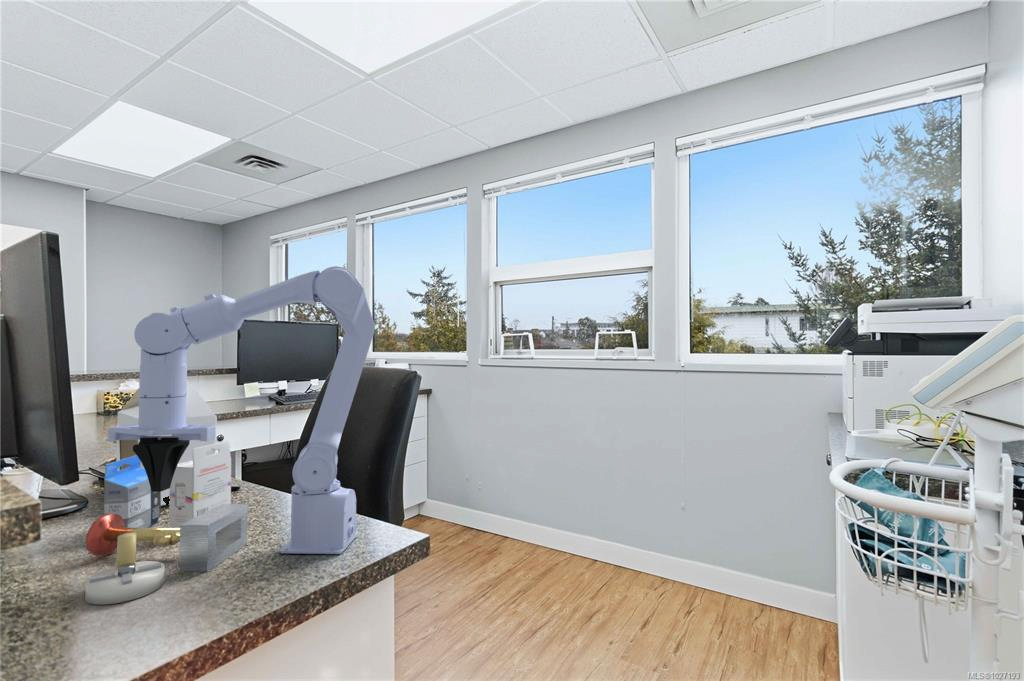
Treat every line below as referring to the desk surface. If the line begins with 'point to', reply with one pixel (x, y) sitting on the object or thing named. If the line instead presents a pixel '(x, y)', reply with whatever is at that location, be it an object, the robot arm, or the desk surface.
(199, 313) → the robot arm
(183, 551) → the eye block
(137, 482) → the label tape box
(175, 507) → the ink cartridge box
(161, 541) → the hook rod
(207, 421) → the gable box
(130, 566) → the wheel spindle
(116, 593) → the lock wheel
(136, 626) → the desk surface
